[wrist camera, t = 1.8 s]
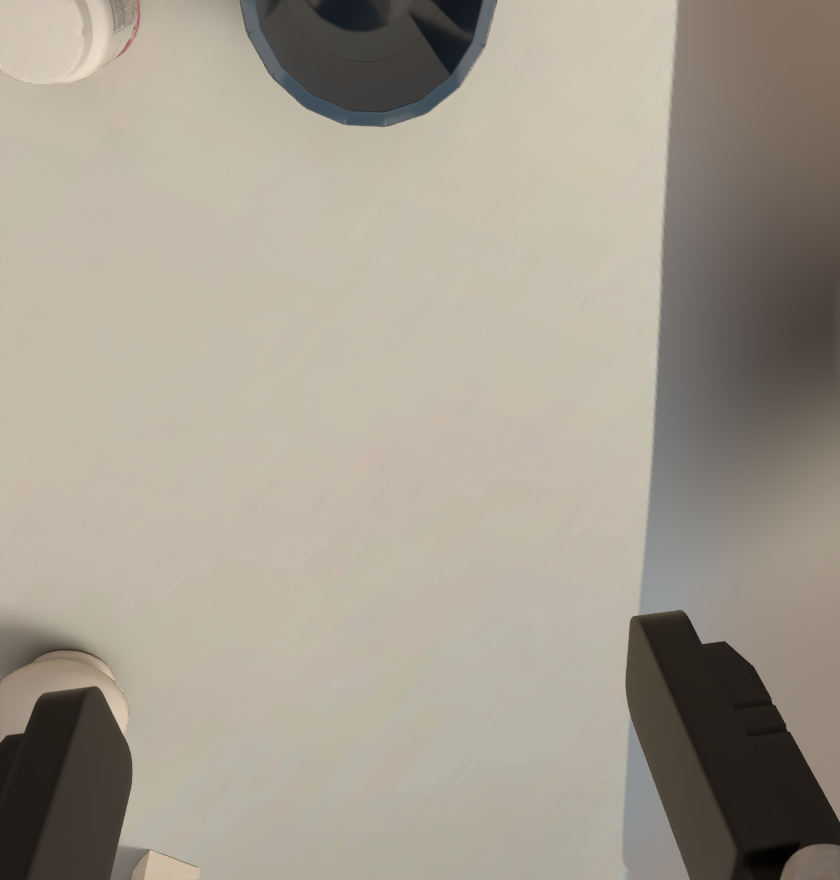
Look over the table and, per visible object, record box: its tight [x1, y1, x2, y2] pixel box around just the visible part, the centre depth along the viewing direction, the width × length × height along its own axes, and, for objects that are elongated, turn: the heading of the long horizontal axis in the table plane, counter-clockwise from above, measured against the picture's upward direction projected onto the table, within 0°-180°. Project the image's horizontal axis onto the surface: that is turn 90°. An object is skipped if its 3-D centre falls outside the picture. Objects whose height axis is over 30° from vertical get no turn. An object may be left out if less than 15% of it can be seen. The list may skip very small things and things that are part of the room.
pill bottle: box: [0, 0, 140, 84], centre depth 32 cm, size 5×5×8 cm
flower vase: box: [0, 650, 130, 743], centre depth 48 cm, size 13×18×25 cm
